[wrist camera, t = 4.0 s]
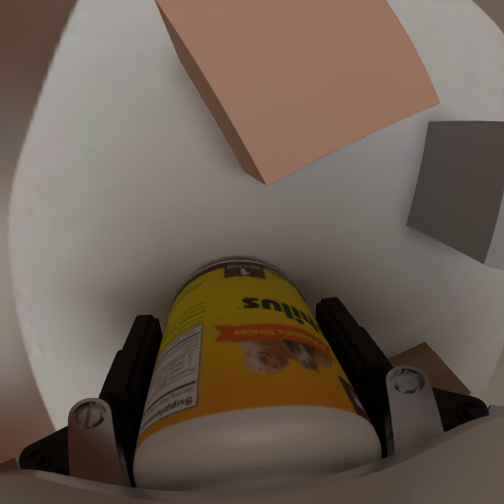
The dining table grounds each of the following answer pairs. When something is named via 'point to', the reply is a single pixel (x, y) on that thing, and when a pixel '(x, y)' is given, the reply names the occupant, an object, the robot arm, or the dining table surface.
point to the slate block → (463, 189)
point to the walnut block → (430, 368)
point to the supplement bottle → (247, 390)
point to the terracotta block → (297, 74)
